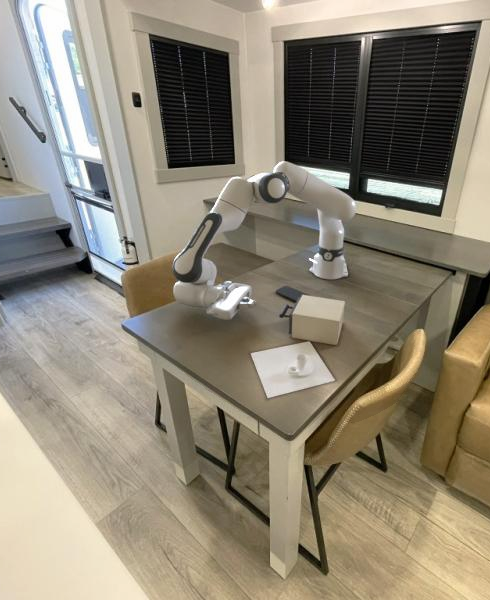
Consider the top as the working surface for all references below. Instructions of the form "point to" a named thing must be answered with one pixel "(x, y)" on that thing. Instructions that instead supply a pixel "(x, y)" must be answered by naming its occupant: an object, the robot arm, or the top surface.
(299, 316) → the cabinet
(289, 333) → the drawer
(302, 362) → the teacup and saucer
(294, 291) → the phone
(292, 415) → the top surface
